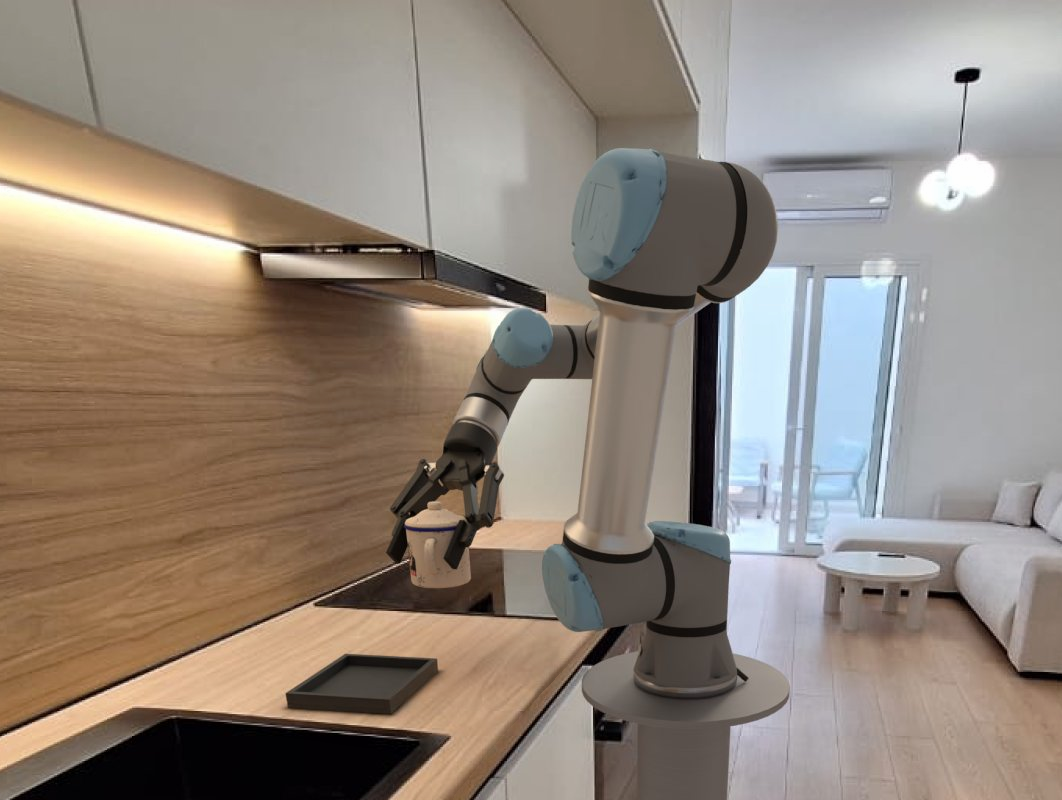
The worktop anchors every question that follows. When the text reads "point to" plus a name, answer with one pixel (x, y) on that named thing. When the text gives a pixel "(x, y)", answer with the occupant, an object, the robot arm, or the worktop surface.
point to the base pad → (363, 683)
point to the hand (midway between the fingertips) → (421, 561)
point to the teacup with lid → (434, 548)
